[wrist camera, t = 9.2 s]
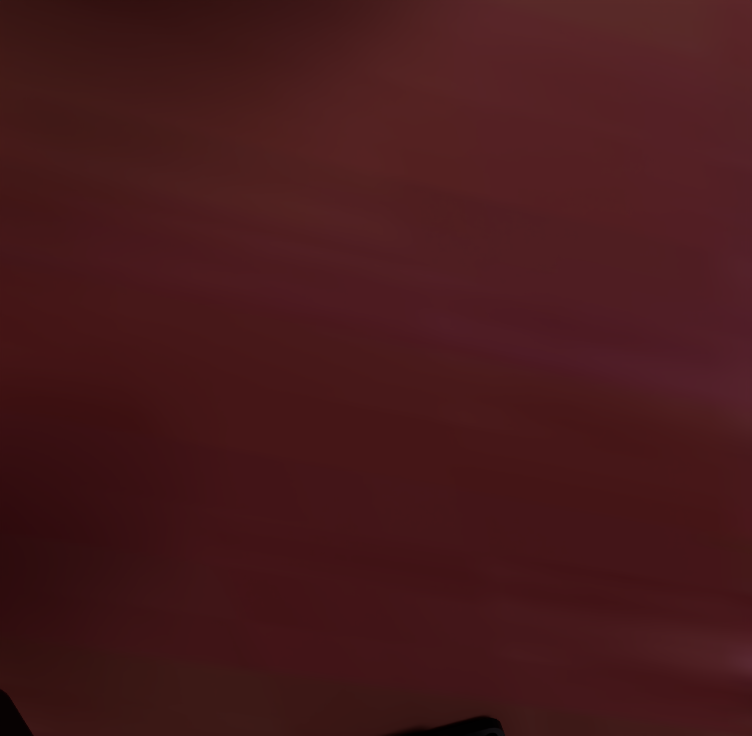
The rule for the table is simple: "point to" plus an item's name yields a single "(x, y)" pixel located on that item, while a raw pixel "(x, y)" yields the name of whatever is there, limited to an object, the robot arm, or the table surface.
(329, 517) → the table surface
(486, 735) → the robot arm
